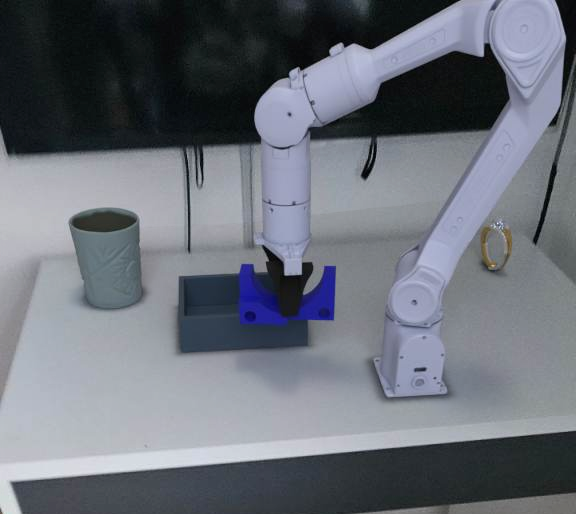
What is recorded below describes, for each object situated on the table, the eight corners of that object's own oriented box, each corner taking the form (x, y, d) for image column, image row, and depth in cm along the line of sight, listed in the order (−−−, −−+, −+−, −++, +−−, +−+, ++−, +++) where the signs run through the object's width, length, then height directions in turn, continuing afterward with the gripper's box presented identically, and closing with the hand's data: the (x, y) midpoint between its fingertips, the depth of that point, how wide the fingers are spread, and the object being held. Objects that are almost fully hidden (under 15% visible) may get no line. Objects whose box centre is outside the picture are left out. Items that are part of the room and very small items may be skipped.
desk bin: (307, 345, 107) (308, 312, 103) (181, 352, 106) (178, 318, 102) (296, 302, 117) (297, 270, 114) (182, 307, 116) (178, 275, 112)
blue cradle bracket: (239, 323, 97) (237, 279, 93) (243, 307, 101) (241, 263, 97) (333, 326, 97) (335, 281, 93) (334, 309, 100) (336, 265, 96)
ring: (472, 262, 128) (480, 214, 122) (490, 259, 128) (498, 211, 123) (492, 279, 123) (501, 229, 117) (510, 276, 123) (519, 227, 118)
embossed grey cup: (79, 287, 121) (64, 211, 113) (142, 278, 124) (132, 203, 116) (87, 315, 114) (72, 236, 106) (154, 305, 116) (144, 227, 108)
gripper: (248, 178, 94) (252, 282, 103) (256, 222, 83) (260, 334, 92) (304, 176, 95) (303, 280, 104) (320, 219, 84) (318, 331, 93)
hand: (287, 305), depth 98 cm, fingers closed on blue cradle bracket, 5 cm apart
